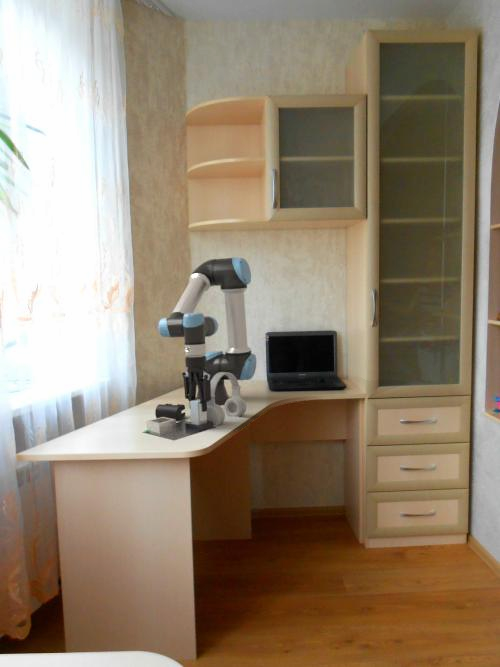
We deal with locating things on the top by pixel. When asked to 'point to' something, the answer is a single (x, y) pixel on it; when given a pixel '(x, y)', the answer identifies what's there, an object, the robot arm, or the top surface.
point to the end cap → (170, 411)
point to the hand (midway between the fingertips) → (198, 419)
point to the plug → (196, 412)
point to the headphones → (232, 405)
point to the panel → (175, 428)
